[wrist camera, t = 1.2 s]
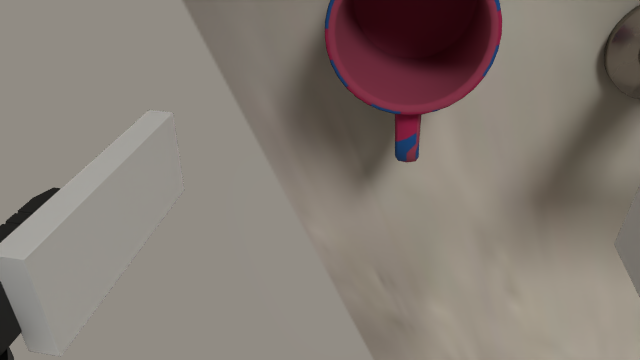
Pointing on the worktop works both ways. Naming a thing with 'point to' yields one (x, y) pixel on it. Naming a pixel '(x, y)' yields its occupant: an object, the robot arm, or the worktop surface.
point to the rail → (625, 54)
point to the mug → (412, 55)
